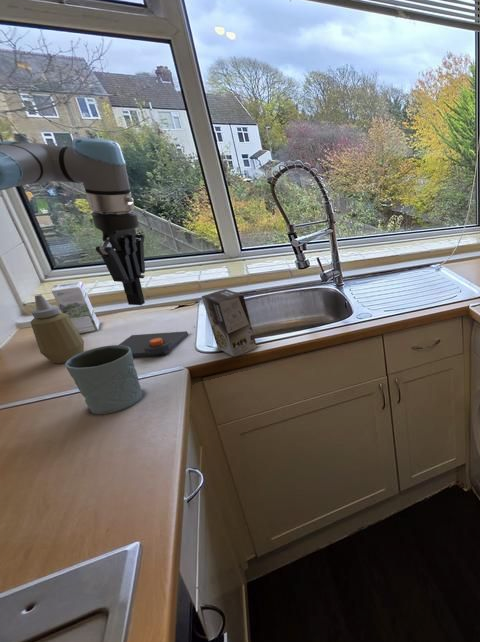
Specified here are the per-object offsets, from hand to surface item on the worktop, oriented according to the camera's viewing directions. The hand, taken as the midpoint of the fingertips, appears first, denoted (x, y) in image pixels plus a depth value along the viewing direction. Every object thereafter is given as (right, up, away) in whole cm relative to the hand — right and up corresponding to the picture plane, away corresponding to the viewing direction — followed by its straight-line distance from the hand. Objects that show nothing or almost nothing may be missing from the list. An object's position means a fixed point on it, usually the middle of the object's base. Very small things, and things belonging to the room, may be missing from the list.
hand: (136, 303), depth 103 cm
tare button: (0, -11, +7) cm, 13 cm away
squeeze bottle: (-22, -15, +5) cm, 27 cm away
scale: (-6, -12, +11) cm, 17 cm away
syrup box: (-33, -8, +19) cm, 39 cm away
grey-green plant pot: (+7, -22, -12) cm, 26 cm away
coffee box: (+18, -13, +11) cm, 25 cm away
